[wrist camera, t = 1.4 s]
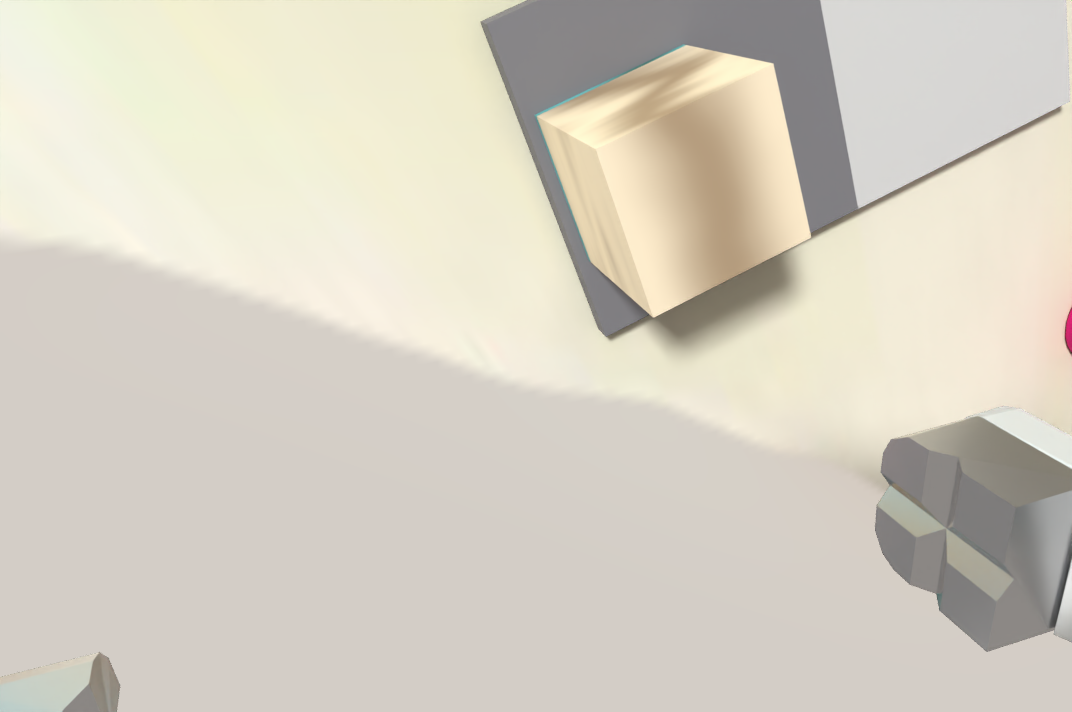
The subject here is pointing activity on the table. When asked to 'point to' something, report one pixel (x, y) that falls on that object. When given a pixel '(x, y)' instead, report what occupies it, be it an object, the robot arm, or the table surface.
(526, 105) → the mat
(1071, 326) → the pepper mill
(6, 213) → the table surface
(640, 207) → the beech block
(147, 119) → the table surface
